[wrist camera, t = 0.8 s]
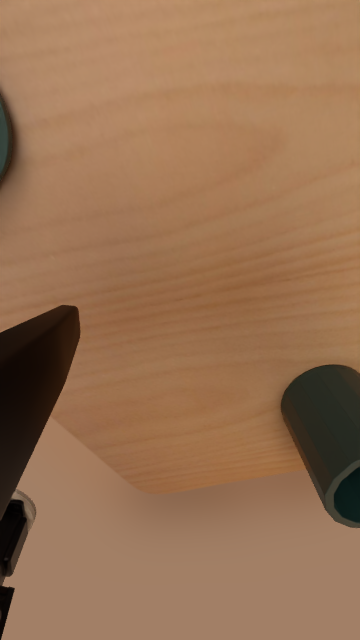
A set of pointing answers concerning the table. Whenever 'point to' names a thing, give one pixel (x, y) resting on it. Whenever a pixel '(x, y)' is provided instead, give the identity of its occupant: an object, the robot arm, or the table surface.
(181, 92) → the table surface
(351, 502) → the tin
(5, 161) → the tin lid
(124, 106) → the table surface
